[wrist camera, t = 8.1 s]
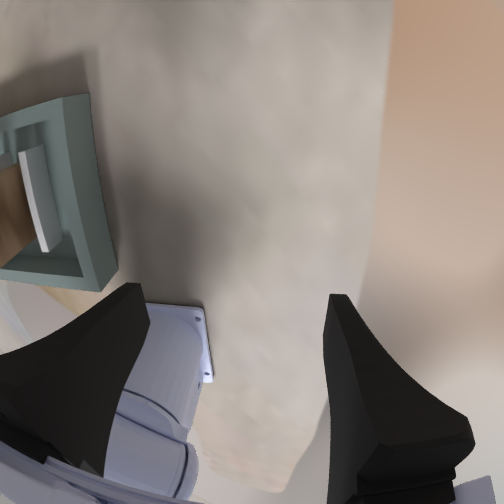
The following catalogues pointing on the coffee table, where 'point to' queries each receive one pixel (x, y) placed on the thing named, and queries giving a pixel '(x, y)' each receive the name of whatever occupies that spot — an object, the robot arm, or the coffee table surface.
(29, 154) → the slotted divider tray
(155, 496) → the robot arm
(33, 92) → the coffee table surface
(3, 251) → the wood block
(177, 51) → the coffee table surface
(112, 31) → the coffee table surface
